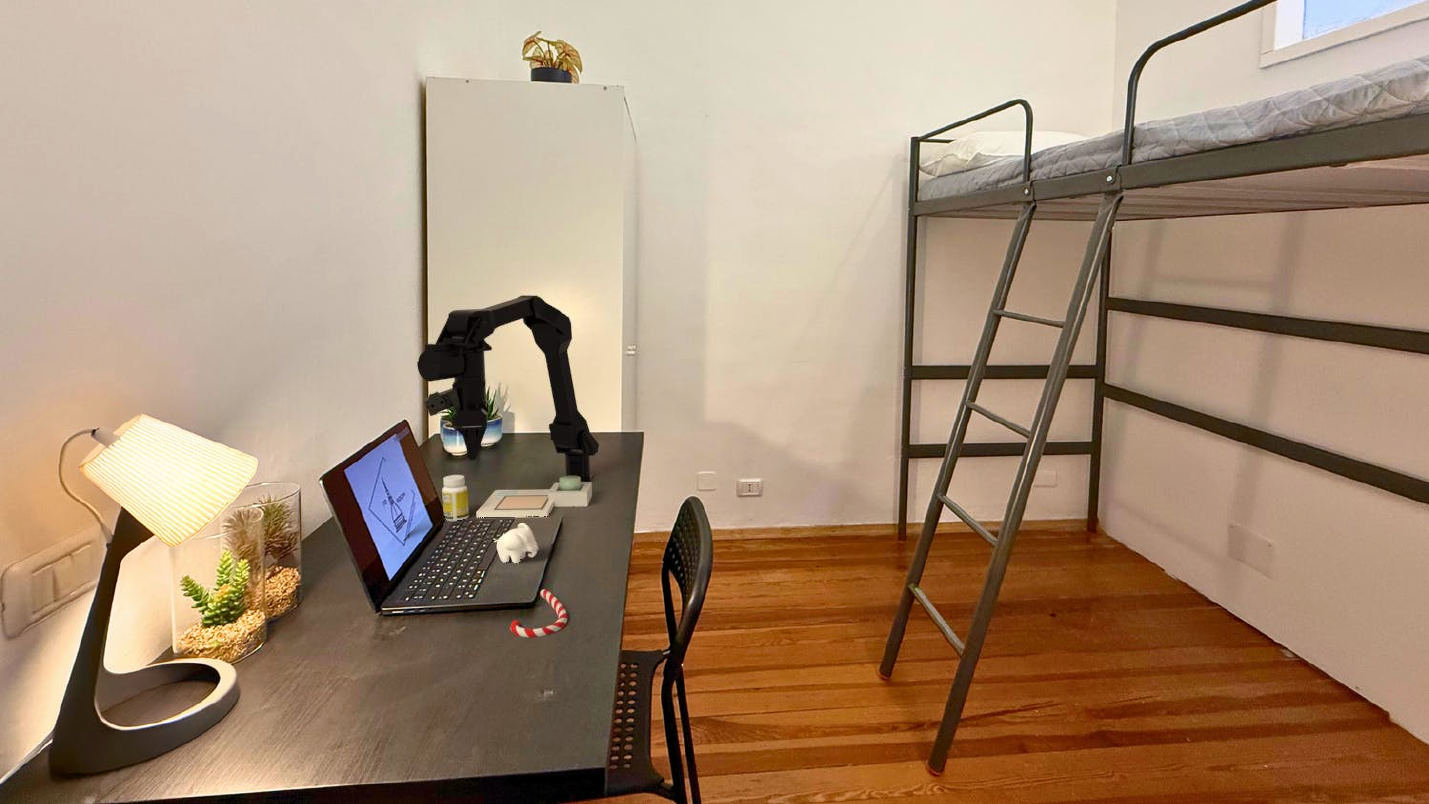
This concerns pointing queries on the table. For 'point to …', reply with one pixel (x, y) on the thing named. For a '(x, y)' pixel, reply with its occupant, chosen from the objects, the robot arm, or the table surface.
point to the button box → (570, 496)
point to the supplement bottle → (455, 498)
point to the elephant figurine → (516, 544)
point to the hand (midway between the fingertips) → (473, 454)
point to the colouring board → (516, 504)
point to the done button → (570, 483)
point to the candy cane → (549, 629)
